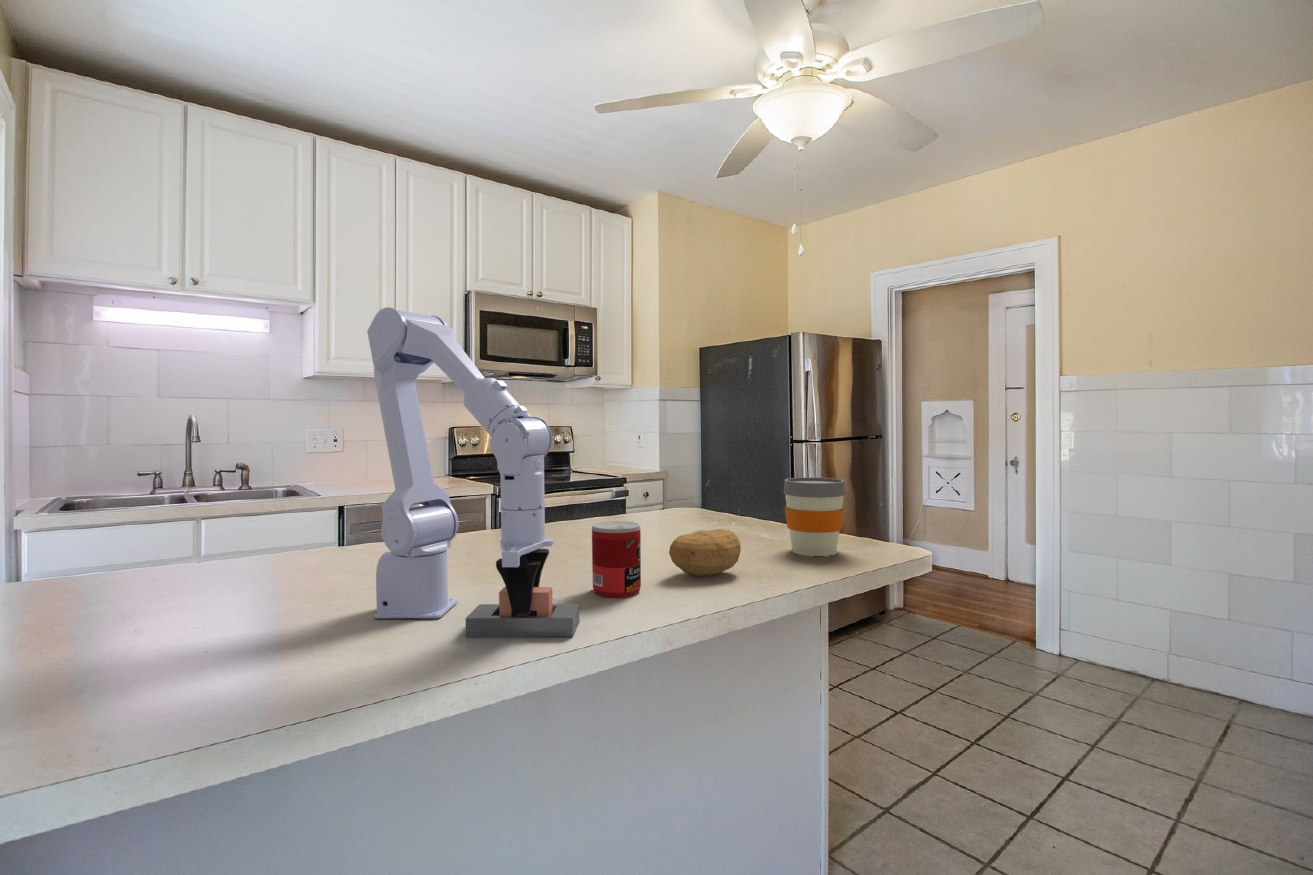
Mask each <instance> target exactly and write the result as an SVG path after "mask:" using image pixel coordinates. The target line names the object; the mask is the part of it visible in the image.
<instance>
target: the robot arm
mask: <svg viewBox="0 0 1313 875" xmlns="http://www.w3.org/2000/svg"><path fill="white" fill-rule="evenodd" d="M366 332H367V337H368V341H369V342H368V343H369V349H370V353H371V360H372V364H373V365H372V366H373V375H374V382H375V388H376V393H377V398H378V403H379V409H380V413H381V414H380V415H381V418H382V424H383V429H384V430H383V431H384V436H385V442H386V446H387V451H388V457H389V462H390V469H391V474H392V479H393V484H394V490H393V492H392V493H391V494H390V495H389V496H388V497H387V499H385V500H384V501H383V503H382V505H381V511H382V522H381V530H380V531H381V537H382V540H383V543H384V545H385V547H387V549H388V550H389V551H386V552H384V553H382V555H381V556H380V557H379V559H378V561H377V566H376V570H375V571H376V572H375V587H376V588H375V589H376V590H375V592H376V594H375V595H376V596H375V597H376V613H375V614H374V617H373V618H375V619H439V618H442V617H443V615H445V614H446V613H447V612H448V611H449V610H451V609H452V607H454V606H455V605H456V604H457V603H458V602H459V600H458V599H457V598H449V583H448V582H449V579H448V577H449V575H448V574H449V572H448V571H449V570H448V569H449V568H448V566H449V565H448V549H449V548H451V547H452V546H451V545H452V542H451V541H453V540H454V539H455V537H456V536H457V534H458V531H459V518H458V514H457V512H456V510H455V509H454V507H453V505H452V504H451V499H450V496H449V493H448V491H446V490H445V489H444V488H442V487H441V486H440V485H438V484H437V483H436V482H435V480H434V476H433V470H432V464H431V460H430V454H429V449H428V443H427V439H426V432H425V427H424V424H423V418H422V411H421V407H420V402H419V396H418V391H417V386H416V381H417V378H418V377H419V375H420V374H423V373H424V372H426V371H427V370H428V368H430V367H431V366H432V365H433V364H435V365H436V366H437V367H438V368H439V369H440V370H441V371H442V372H443V373H444V374H445V376H447V377H448V378H449V379H450V380H451V381H452V382H453V383H454V384H455V385H456V386H457V387H458V388H459V389H460V390H461V391H462V392H463V395H464V396H463V405H464V407H465V409H467V411H468V412H469V413H470V414H471V415H472V416H473V418H474V420H476V421H477V422H478V424H479V425H480V426H481V427H482V428H483V430H485V432H486V433H487V434H488V435H489V436H490V437H491V438H490V439H489V446H490V449H491V452H492V454H493V455H494V457H495V459H496V463H497V471H498V472H499V475H500V513H501V514H500V523H501V524H500V526H501V527H500V528H501V530H500V532H501V533H500V534H501V540H500V541H499V544H500V545H499V546H500V549H501V550H500V551H501V558H498V559H497V560H496V561H495V567H496V570H497V572H498V573H499V575H500V576H501V578H502V580H503V584H504V585H505V586H504V587H506V589H507V593H508V596H509V601H510V605H511V609H512V612H513V613H528V612H529V610H530V607H531V601H532V593H533V587H540V583H541V577H542V572H543V568H544V566H545V563H546V561H547V558H548V556H549V554H550V550H549V549H548V548H545V547H552V546H553V545H554V544H555V539H554V538H548V537H547V538H546V533H545V532H546V527H545V526H546V525H545V523H546V521H545V520H546V516H545V515H546V513H545V505H546V503H545V457H546V456H547V454H548V453H549V452H550V451H551V448H552V445H553V433H552V430H551V428H550V426H549V425H548V423H547V421H546V420H545V419H544V418H542V417H540V416H532V415H530V413H528V412H529V411H528V409H527V408H526V407H525V406H524V405H520V403H519V402H518V401H517V400H516V399H515V398H514V397H513V395H511V394H510V393H509V391H508V390H507V389H508V388H509V387H508V385H507V383H506V382H504V380H498V379H496V378H495V377H485V376H484V375H483V374H482V373H481V371H480V370H479V369H478V367H477V366H476V365H475V363H474V362H473V361H472V360H471V358H470V357H469V355H468V354H467V353H466V352H465V351H464V349H463V348H462V347H461V345H460V344H459V343H458V341H457V340H456V339H455V332H454V329H453V328H452V327H450V326H449V325H448V324H447V322H446V320H444V318H442V317H440V316H438V315H427V314H423V313H422V314H421V313H415V312H410V311H406V310H405V311H404V310H401V309H396V308H394V307H389V306H388V307H387V306H386V307H383V308H381V309H379V311H377V312H376V314H375V316H374V317H373V320H372V321H371V322H370V325H369V326H368V329H367V330H366ZM414 505H421V506H416V507H411V506H414Z"/></svg>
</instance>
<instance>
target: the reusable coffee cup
mask: <svg viewBox="0 0 1313 875" xmlns="http://www.w3.org/2000/svg"><path fill="white" fill-rule="evenodd" d="M783 487H784V488H783V494H784V495H785V504H786V505H784V510H785V511H784V513H785V520H786V527H787V528H788V529H789V536H790V541H791V542H790V543H791V549H792V553H794V554H796V555H799V556H804V557H813V556H824V557H831V556H830V555H832V556H835V555H836V554H837V552H838V551H837V549H838V542H839V537H840V536H839V535H840V532H841V531H842V530H843V529H842V527H843V520H844V514H845V507H843V506H844V498H845V497H844V496H846V484H845V480H843V479H838V478H831V477H791V478H790V477H789V478H785V479H784V486H783ZM835 553H836V554H835ZM834 554H835V555H834Z"/></svg>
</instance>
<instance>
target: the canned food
mask: <svg viewBox="0 0 1313 875" xmlns="http://www.w3.org/2000/svg"><path fill="white" fill-rule="evenodd" d="M591 527H592V528H591V558H592V559H591V560H592V562H591V563H592V564H591V566H592V568H591V569H592V570H591V571H592V574H591V575H592V589H593V592H594V594H595V595H598V596H599V597H603V598H611V599H612V598H614V599H619V598H628V597H633V596H636V595H637V594H638V593H640V591H641V587H642V584H641V582H642V578H641V577H642V573H641V570H642V569H641V567H642V565H641V564H642V563H641V562H642V561H641V560H642V559H641V558H642V556H641V554H642V553H641V552H642V551H641V548H642V546H641V544H642V543H641V540H642V538H641V537H642V535H641V524H640V523H638V522H634V521H629V520H628V521H626V520H610V521H609V520H607V521H599V522H595V523H593V524H592V526H591Z"/></svg>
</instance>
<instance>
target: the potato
mask: <svg viewBox="0 0 1313 875" xmlns="http://www.w3.org/2000/svg"><path fill="white" fill-rule="evenodd" d="M741 547H742V546H741V541H740V539H739V537H738V535H736V534H735V533H734V531H732V530H730V529H726V528H720V529H718V528H717V529H709V530H708V529H705V530H704V529H701V530H697V531H692V532H690V533H686V534H681V535H679V536H677V537H676V538H674V539H673V541H672V542H671V544H670V546H669V550H668V554H669V556H670V560H671V563H673V564H674V565H675V567H677V568H679V569H680V570H681V571H682V572H683V573H685V574H687V575H688V576H691V577H694V578H695V577H696V578H708V577H713V576H717V574H720V573H723V572H725V571H727V570H730V569H732V568H734V566H735V565H736V564H737V563H738V561H739V558H740V555H741V552H742V551H741V550H742V549H741Z"/></svg>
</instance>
